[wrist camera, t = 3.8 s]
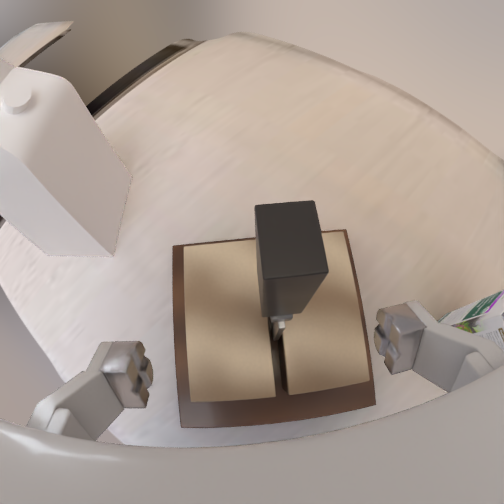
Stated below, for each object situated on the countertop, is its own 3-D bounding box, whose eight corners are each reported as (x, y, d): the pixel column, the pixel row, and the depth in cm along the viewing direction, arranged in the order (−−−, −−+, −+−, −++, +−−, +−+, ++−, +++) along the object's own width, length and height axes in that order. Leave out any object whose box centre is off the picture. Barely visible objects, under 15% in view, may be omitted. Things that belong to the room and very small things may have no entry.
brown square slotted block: (372, 403, 26) (406, 411, 19) (183, 426, 26) (158, 442, 19) (344, 232, 34) (363, 196, 27) (174, 248, 34) (153, 215, 26)
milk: (70, 184, 39) (-21, 60, 15) (132, 177, 38) (50, 18, 14) (48, 256, 34) (-83, 145, 10) (113, 257, 34) (-32, 105, 10)
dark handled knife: (289, 338, 23) (332, 290, 9) (262, 341, 23) (264, 298, 9) (283, 291, 24) (311, 186, 11) (257, 293, 24) (252, 190, 11)
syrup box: (446, 311, 30) (527, 272, 16) (466, 349, 28) (550, 326, 14) (416, 338, 29) (500, 311, 15) (438, 378, 27) (525, 370, 13)
